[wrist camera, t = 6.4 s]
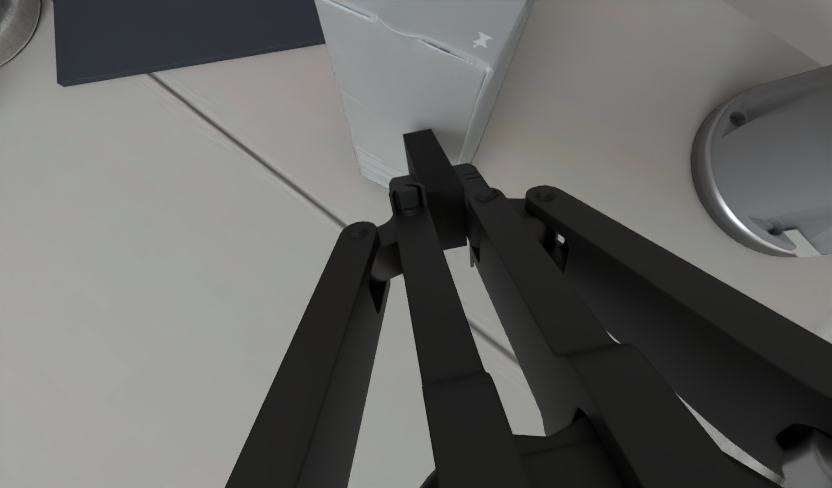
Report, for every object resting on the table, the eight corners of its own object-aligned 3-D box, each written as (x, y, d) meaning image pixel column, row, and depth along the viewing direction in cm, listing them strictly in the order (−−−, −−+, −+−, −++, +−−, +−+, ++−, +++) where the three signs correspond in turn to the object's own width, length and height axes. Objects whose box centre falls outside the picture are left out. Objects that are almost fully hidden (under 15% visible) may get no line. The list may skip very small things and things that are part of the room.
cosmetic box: (472, 160, 29) (565, -40, 14) (438, 225, 27) (504, 72, 12) (389, 119, 30) (392, -115, 15) (349, 180, 27) (304, -22, 12)
